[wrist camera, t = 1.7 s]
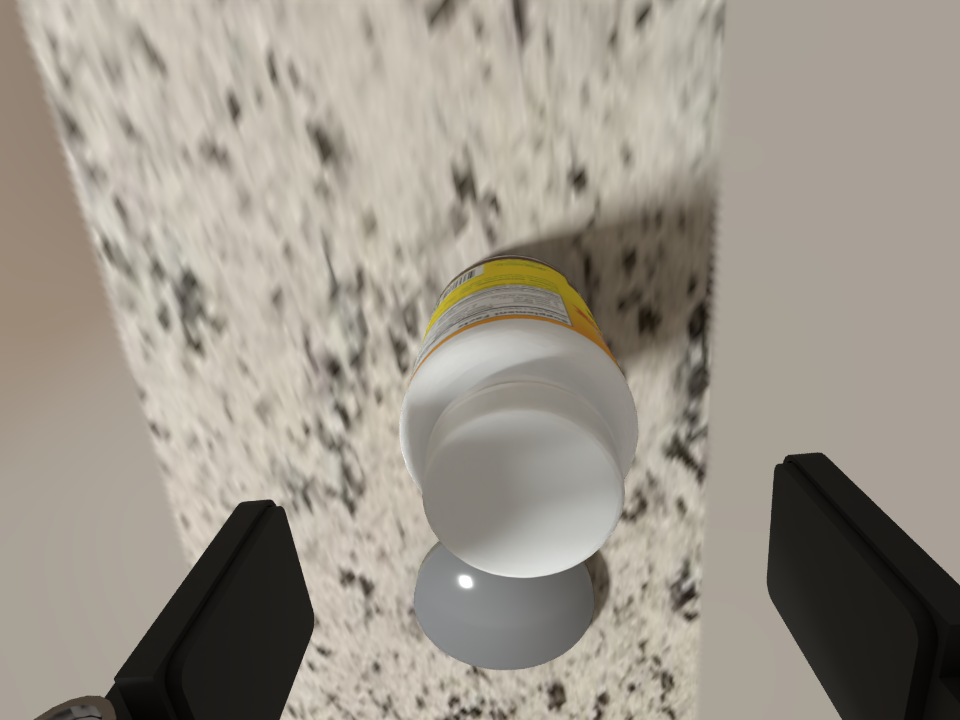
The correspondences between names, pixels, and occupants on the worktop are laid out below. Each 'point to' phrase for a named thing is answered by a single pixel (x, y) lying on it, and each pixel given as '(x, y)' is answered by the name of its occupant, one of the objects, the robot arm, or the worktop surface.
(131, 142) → the worktop surface
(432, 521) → the supplement bottle
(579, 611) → the slate coaster
